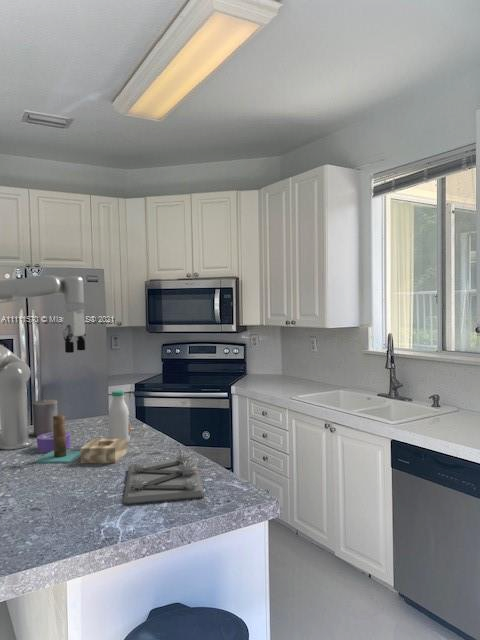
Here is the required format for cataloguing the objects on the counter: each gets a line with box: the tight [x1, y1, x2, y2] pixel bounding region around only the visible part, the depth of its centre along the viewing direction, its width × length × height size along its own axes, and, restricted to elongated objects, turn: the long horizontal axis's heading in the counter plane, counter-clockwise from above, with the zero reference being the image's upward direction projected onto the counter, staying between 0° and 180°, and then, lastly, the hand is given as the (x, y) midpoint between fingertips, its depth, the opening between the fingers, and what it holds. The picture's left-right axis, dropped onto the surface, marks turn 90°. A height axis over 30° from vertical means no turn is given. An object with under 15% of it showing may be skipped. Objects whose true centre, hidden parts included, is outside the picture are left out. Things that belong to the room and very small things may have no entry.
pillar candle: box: [32, 399, 59, 438], centre depth 209 cm, size 10×10×15 cm
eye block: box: [80, 438, 128, 464], centre depth 174 cm, size 12×12×5 cm
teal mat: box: [35, 450, 81, 464], centre depth 175 cm, size 12×12×1 cm
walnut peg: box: [53, 414, 67, 457], centre depth 175 cm, size 4×4×14 cm
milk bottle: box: [108, 390, 131, 444], centre depth 193 cm, size 8×8×20 cm
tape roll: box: [36, 431, 72, 453], centre depth 188 cm, size 12×12×5 cm
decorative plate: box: [123, 450, 206, 505], centre depth 148 cm, size 30×22×7 cm
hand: (75, 351), depth 196 cm, fingers open, 9 cm apart
